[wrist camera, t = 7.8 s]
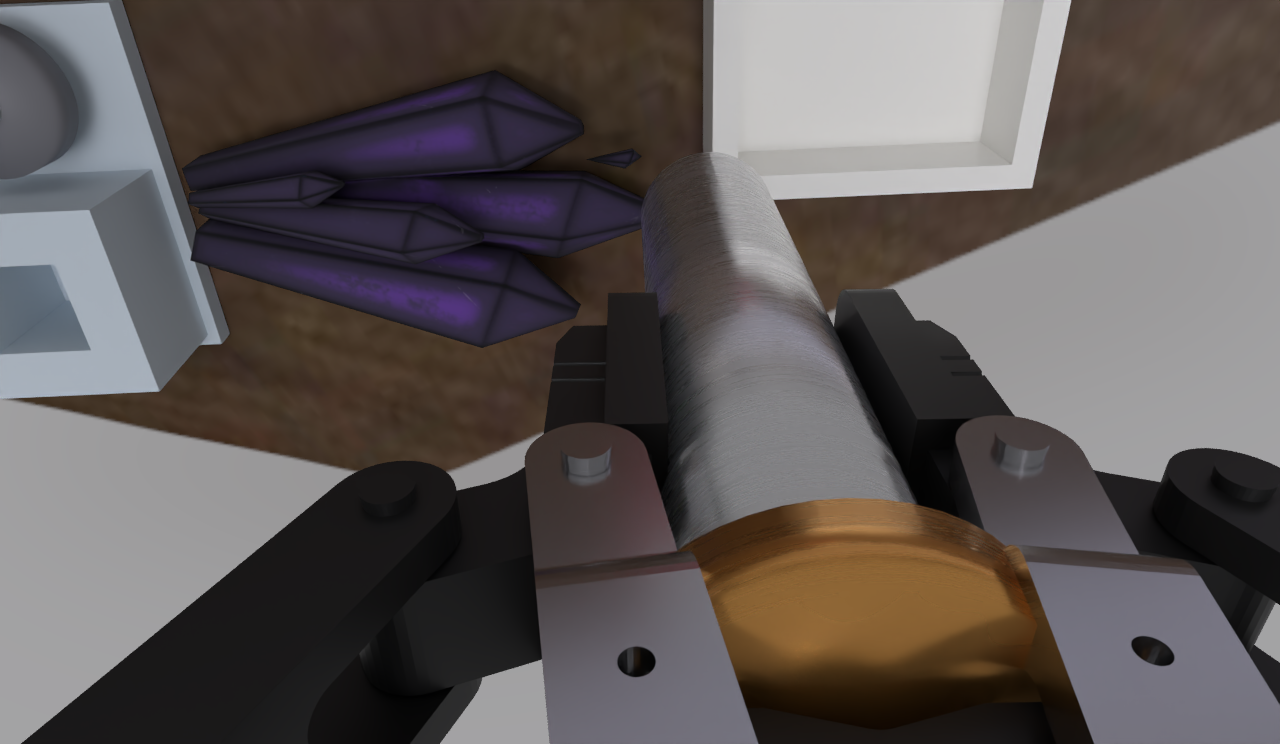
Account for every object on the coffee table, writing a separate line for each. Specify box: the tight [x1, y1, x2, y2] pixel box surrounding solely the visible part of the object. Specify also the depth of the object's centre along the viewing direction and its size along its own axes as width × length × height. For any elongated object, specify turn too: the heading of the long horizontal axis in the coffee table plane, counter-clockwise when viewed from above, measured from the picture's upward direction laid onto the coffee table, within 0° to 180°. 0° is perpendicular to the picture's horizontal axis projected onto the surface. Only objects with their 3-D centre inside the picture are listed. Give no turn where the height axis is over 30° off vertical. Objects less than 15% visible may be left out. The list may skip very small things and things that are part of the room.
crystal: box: [182, 70, 644, 348], centre depth 35 cm, size 7×12×20 cm
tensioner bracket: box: [0, 0, 230, 399], centre depth 34 cm, size 15×9×6 cm, turn 2°
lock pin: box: [641, 152, 1041, 730], centre depth 12 cm, size 4×4×13 cm
